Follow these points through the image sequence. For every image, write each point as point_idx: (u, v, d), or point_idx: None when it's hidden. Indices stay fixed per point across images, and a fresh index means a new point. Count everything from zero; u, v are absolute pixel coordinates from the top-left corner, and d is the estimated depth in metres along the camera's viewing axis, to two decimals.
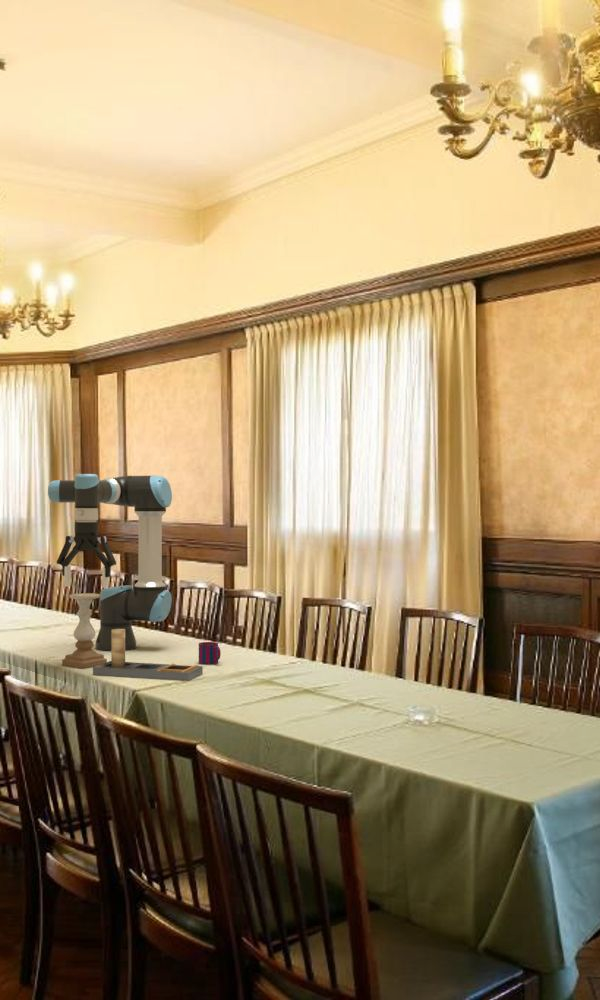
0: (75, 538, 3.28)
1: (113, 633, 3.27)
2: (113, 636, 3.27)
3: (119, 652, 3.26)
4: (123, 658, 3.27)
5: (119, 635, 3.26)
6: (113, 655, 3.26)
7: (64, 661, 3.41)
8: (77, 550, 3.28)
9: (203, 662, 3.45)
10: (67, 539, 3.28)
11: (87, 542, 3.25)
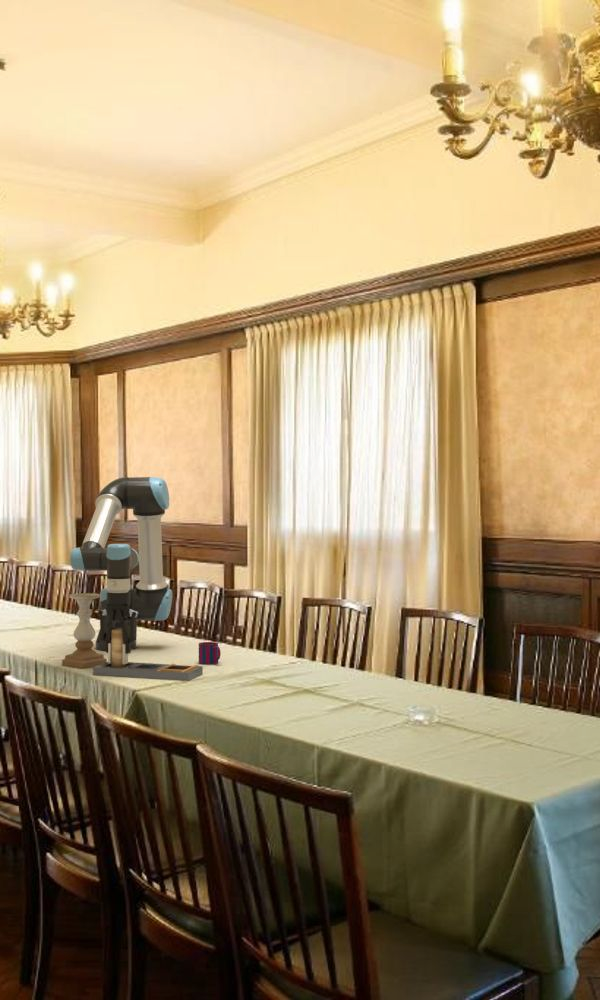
0: (107, 609, 3.28)
1: (113, 633, 3.27)
2: (113, 636, 3.27)
3: (119, 652, 3.26)
4: None
5: (119, 635, 3.26)
6: (113, 655, 3.26)
7: (64, 661, 3.41)
8: (113, 622, 3.28)
9: (203, 662, 3.45)
10: (100, 613, 3.29)
11: (119, 613, 3.26)
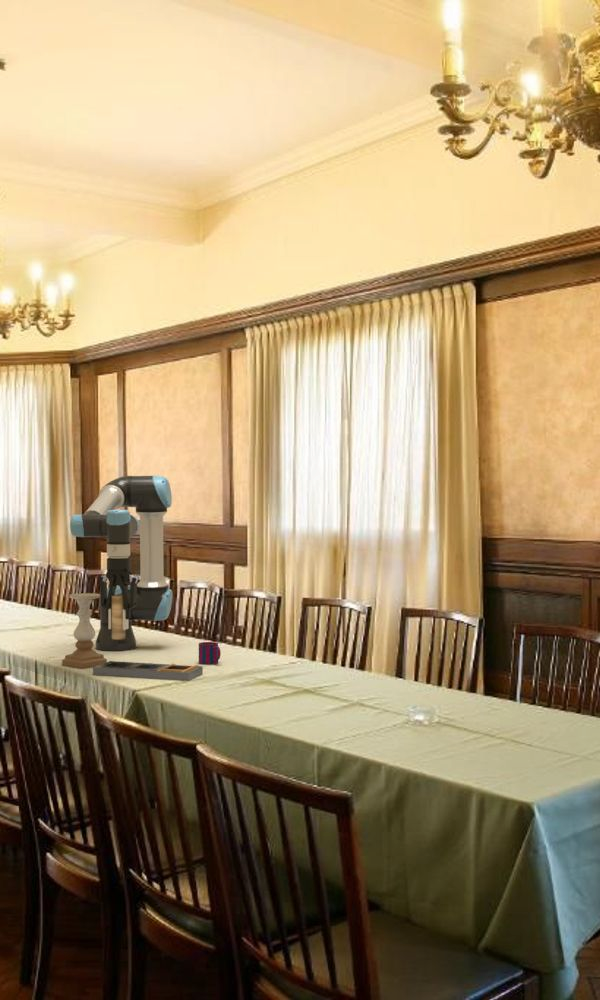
0: (107, 574, 3.28)
1: (113, 599, 3.27)
2: (113, 602, 3.26)
3: (120, 618, 3.26)
4: None
5: (119, 601, 3.26)
6: (114, 620, 3.27)
7: (64, 661, 3.41)
8: (114, 587, 3.28)
9: (203, 662, 3.45)
10: (100, 579, 3.29)
11: (119, 578, 3.26)
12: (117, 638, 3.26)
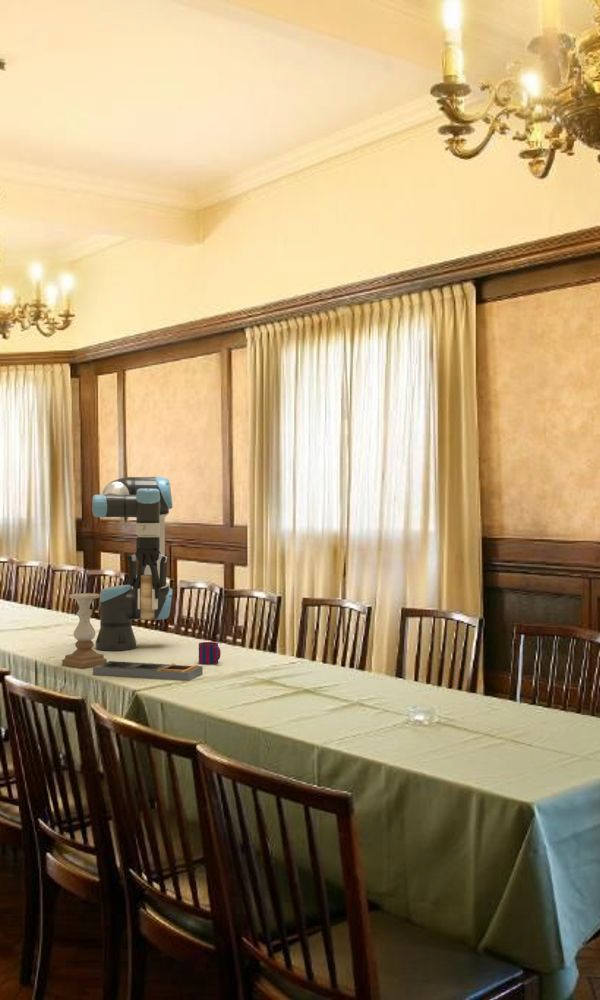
0: (136, 554, 3.25)
1: (142, 578, 3.23)
2: (142, 581, 3.23)
3: (149, 598, 3.23)
4: None
5: (148, 580, 3.23)
6: (143, 600, 3.23)
7: (64, 661, 3.41)
8: (143, 567, 3.25)
9: (203, 662, 3.45)
10: (129, 559, 3.25)
11: (148, 557, 3.23)
12: (146, 618, 3.23)
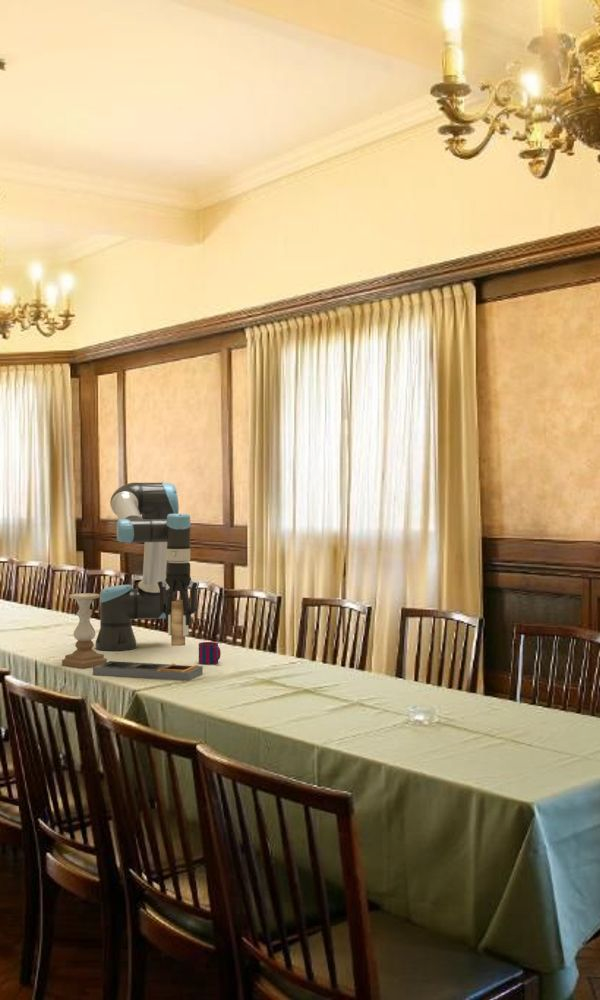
0: (167, 579, 3.22)
1: (173, 604, 3.21)
2: (173, 607, 3.20)
3: (180, 624, 3.20)
4: None
5: (179, 606, 3.20)
6: (174, 626, 3.20)
7: (64, 661, 3.41)
8: (173, 593, 3.23)
9: (203, 662, 3.45)
10: (160, 584, 3.23)
11: (179, 583, 3.20)
12: (177, 644, 3.20)
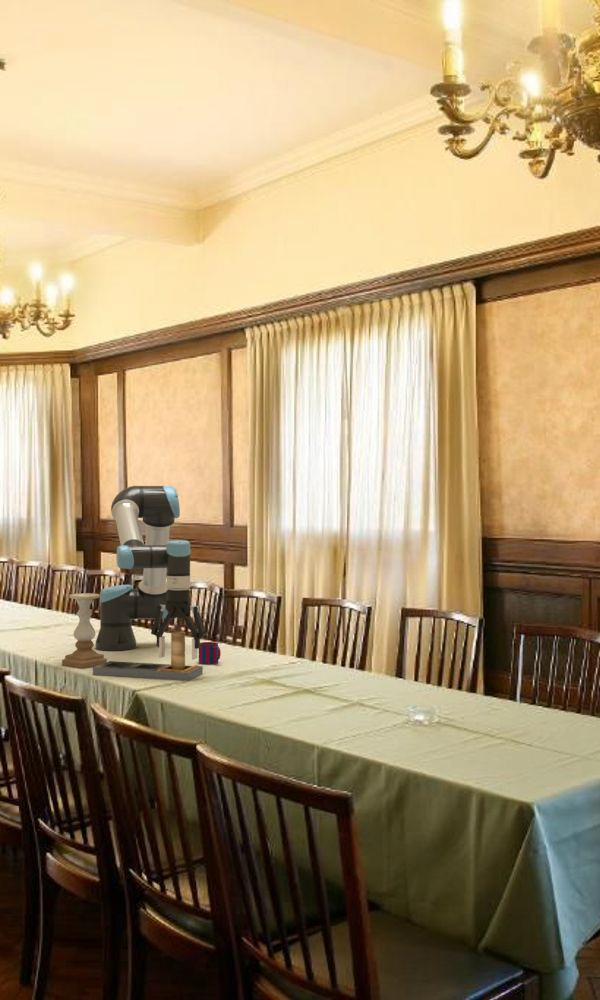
0: (167, 606, 3.22)
1: (173, 636, 3.21)
2: (173, 639, 3.21)
3: (180, 656, 3.21)
4: (183, 661, 3.22)
5: (179, 638, 3.20)
6: (174, 658, 3.21)
7: (64, 661, 3.41)
8: (170, 619, 3.23)
9: (203, 662, 3.45)
10: (159, 608, 3.23)
11: (180, 610, 3.20)
12: None
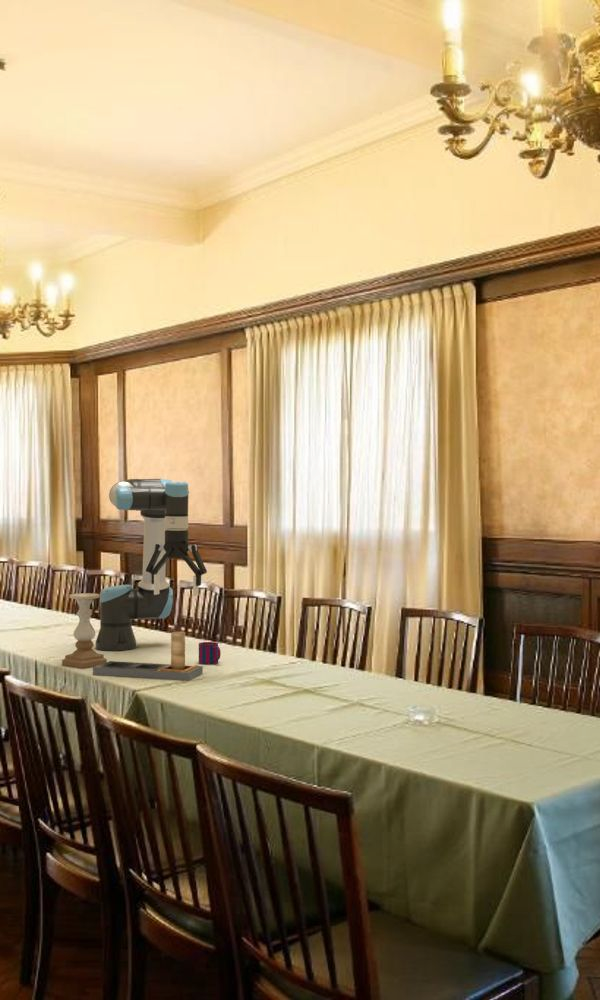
0: (165, 546, 3.25)
1: (173, 636, 3.21)
2: (173, 639, 3.21)
3: (180, 656, 3.21)
4: (183, 661, 3.22)
5: (179, 638, 3.20)
6: (174, 658, 3.21)
7: (64, 661, 3.41)
8: (167, 558, 3.26)
9: (203, 662, 3.45)
10: (157, 547, 3.26)
11: (178, 550, 3.23)
12: None
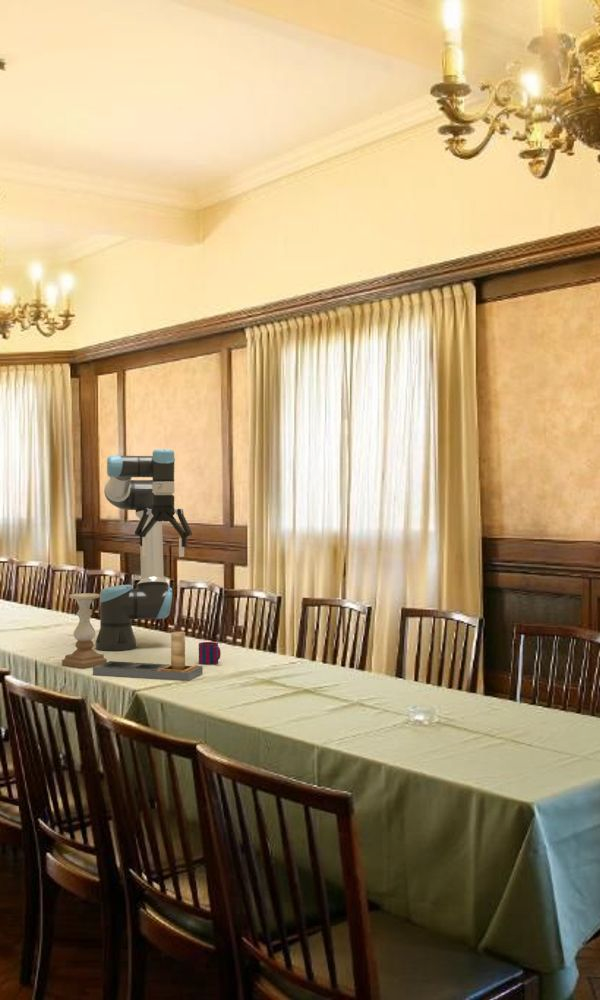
0: (152, 510, 3.46)
1: (173, 636, 3.21)
2: (173, 639, 3.21)
3: (180, 656, 3.21)
4: (183, 661, 3.22)
5: (179, 638, 3.20)
6: (174, 658, 3.21)
7: (64, 661, 3.41)
8: (154, 522, 3.47)
9: (203, 662, 3.45)
10: (145, 511, 3.47)
11: (164, 514, 3.44)
12: None
